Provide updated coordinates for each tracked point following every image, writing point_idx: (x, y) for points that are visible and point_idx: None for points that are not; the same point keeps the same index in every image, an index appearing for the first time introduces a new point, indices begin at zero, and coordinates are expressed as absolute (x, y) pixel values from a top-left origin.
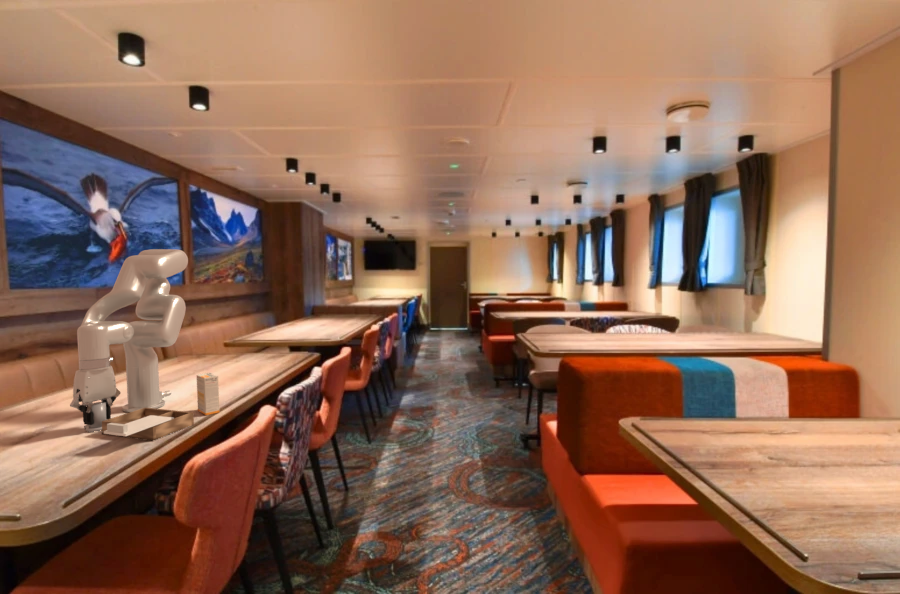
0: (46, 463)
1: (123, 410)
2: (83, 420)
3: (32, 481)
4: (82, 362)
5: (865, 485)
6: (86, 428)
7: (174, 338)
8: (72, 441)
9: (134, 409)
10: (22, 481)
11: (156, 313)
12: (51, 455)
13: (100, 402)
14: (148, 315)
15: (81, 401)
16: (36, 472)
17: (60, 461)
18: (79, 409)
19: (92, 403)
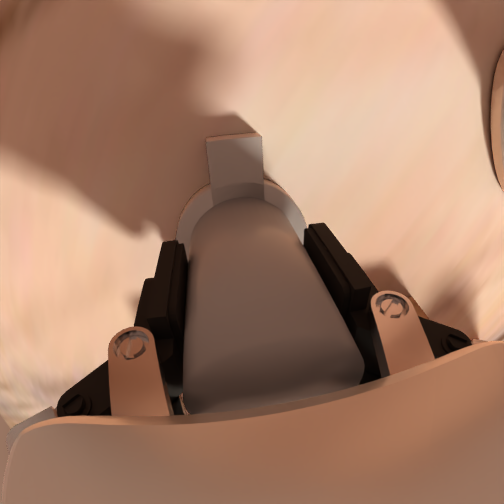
0: (25, 390)
1: (496, 73)
2: (144, 286)
3: (21, 419)
4: None
5: None
6: (177, 231)
7: None
8: (80, 308)
9: (502, 153)
10: (8, 409)
11: None
12: (26, 363)
13: (341, 372)
14: None
15: (115, 425)
16: (18, 404)
17: (49, 404)
18: (91, 386)
19: (278, 352)
